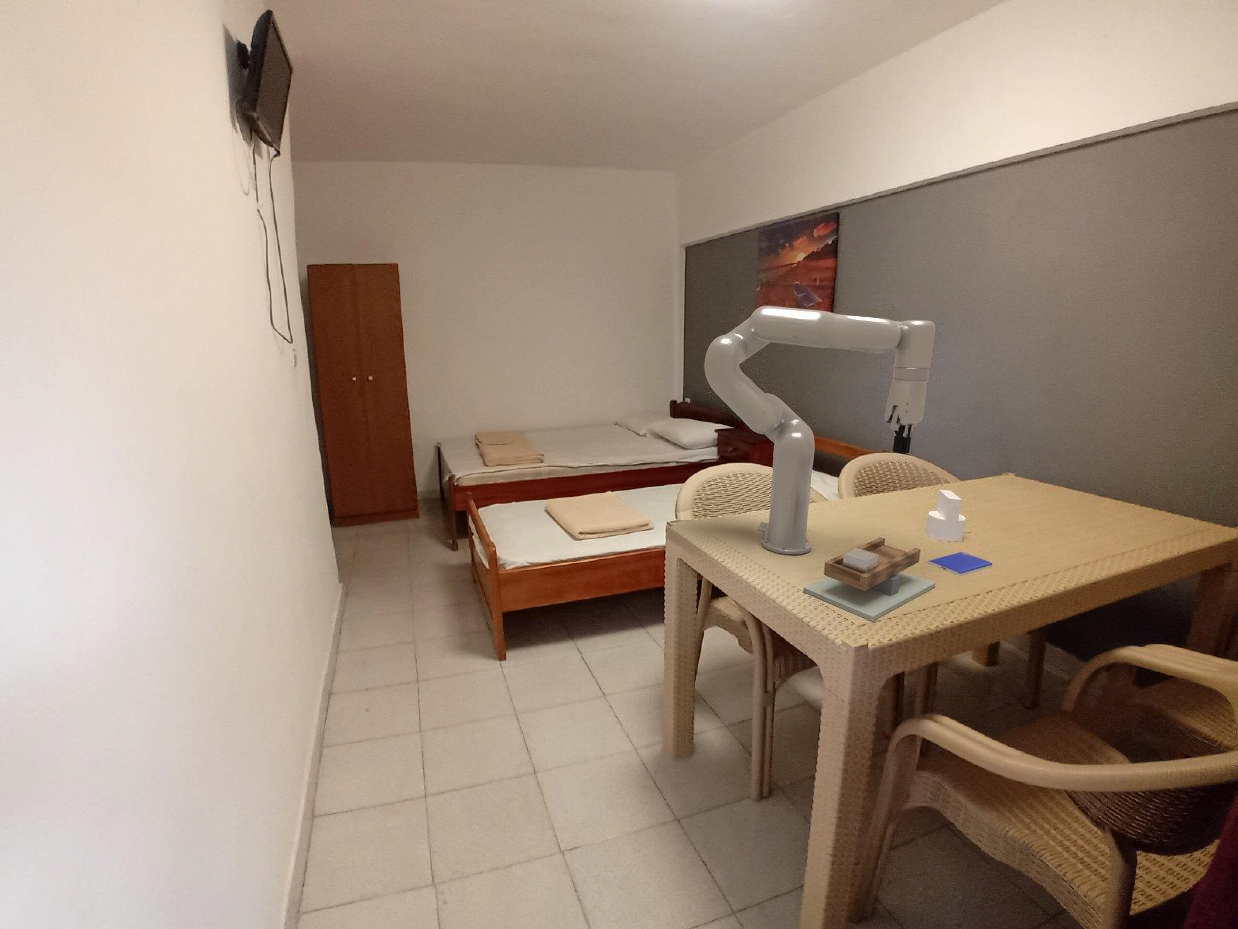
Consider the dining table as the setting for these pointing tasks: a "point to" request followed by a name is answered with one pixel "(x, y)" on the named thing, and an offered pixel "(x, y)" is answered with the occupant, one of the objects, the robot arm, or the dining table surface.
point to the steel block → (860, 560)
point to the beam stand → (870, 594)
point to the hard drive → (960, 563)
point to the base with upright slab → (946, 518)
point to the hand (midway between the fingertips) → (900, 452)
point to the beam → (887, 567)
